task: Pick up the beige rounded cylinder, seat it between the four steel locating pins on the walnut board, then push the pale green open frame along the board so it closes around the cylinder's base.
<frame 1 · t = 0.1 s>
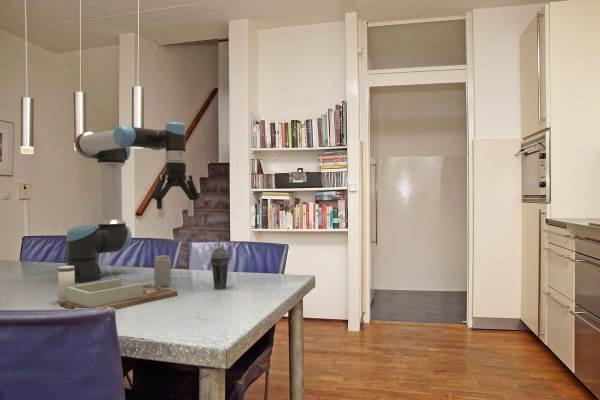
hand: (176, 217, 167), 28 cm above the table, fingers open, 13 cm apart
beverage cup: (220, 288, 168), on the table
beverage can: (162, 286, 173), on the table
pale green open frame: (105, 292, 144), point 4 cm above the table, slide at 12.0 cm
beige rounded cylinder: (66, 301, 148), on the table
board: (121, 300, 149), on the table
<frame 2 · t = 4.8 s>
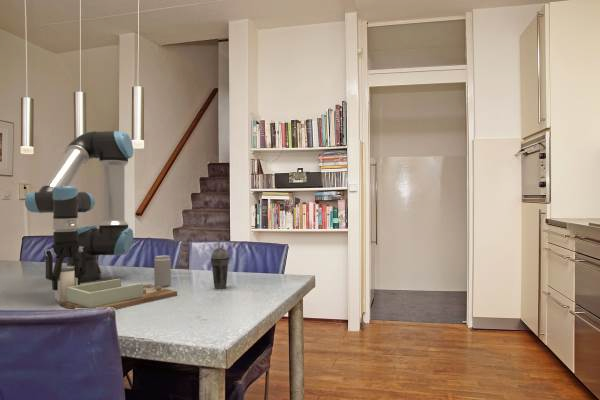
hand: (66, 297, 148), 1 cm above the table, fingers closed on beige rounded cylinder, 5 cm apart
beige rounded cylinder: (66, 301, 148), on the table, touching gripper
everything else where it was.
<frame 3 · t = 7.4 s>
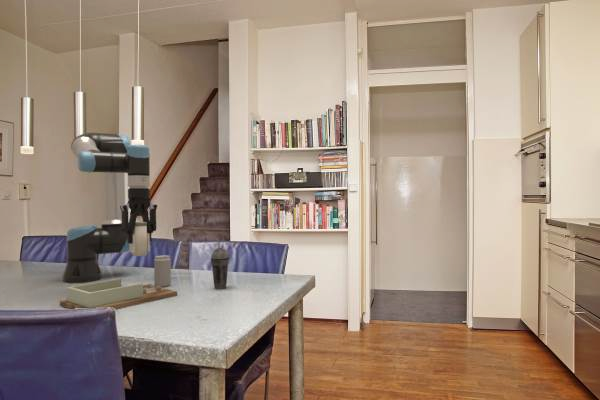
hand: (139, 251, 156), 16 cm above the table, fingers closed on beige rounded cylinder, 5 cm apart
beige rounded cylinder: (139, 255, 155), point 15 cm above the table, touching gripper
everything else where it was.
when the fingers open (4 cm above the table, at t = 10.2 s): beige rounded cylinder stays where it is, resting on board.
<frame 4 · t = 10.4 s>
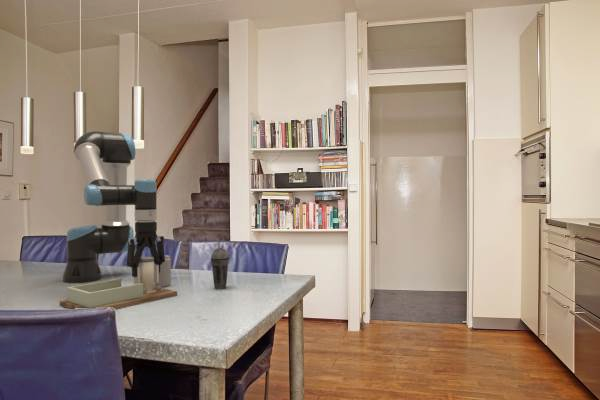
hand: (146, 283, 157), 4 cm above the table, fingers open, 7 cm apart
beige rounded cylinder: (146, 290, 157), point 2 cm above the table, touching board
everything else where it was.
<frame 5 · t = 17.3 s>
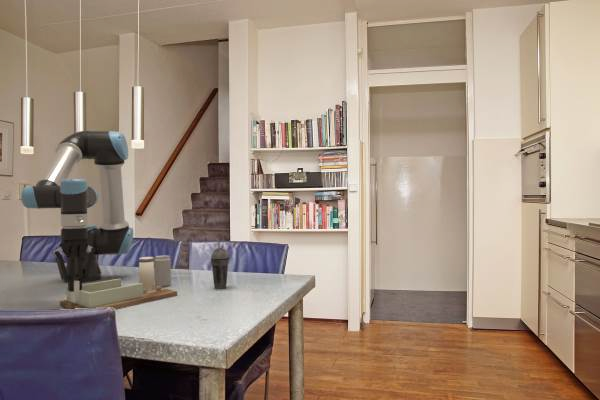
hand: (75, 301, 137), 3 cm above the table, fingers closed
pale green open frame: (105, 292, 144), point 4 cm above the table, slide at 11.9 cm, touching gripper
everything else where it was.
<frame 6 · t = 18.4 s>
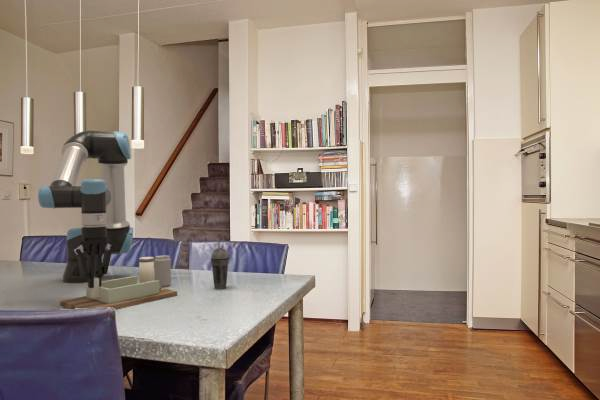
hand: (94, 297, 142), 3 cm above the table, fingers closed
pale green open frame: (123, 288, 149), point 4 cm above the table, slide at 5.6 cm, touching gripper
everything else where it was.
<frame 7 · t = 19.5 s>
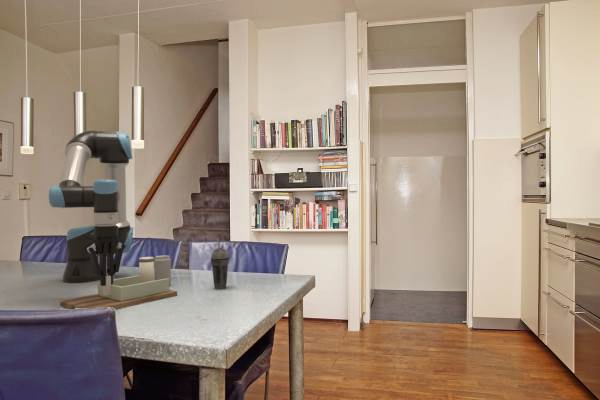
hand: (106, 294, 145), 3 cm above the table, fingers closed
pale green open frame: (134, 286, 153), point 4 cm above the table, slide at 1.5 cm, touching gripper
everything else where it was.
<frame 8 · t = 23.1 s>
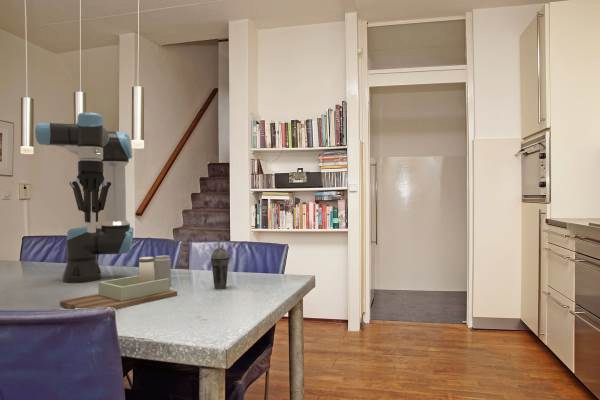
hand: (91, 232, 141), 24 cm above the table, fingers closed
pale green open frame: (134, 286, 153), point 4 cm above the table, slide at 1.3 cm
everything else where it was.
at the end: beige rounded cylinder 0.0 cm from the target spot, point 1.6 cm above the table; beige rounded cylinder tilted 0°; pale green open frame slide at 1.3 cm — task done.
